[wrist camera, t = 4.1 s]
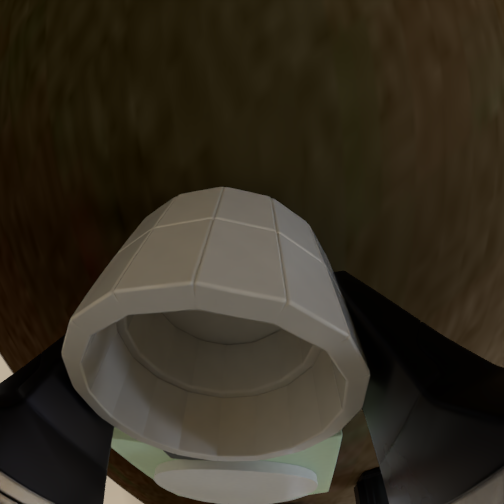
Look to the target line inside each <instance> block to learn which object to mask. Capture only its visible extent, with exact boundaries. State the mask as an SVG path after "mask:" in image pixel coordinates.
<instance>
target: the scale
mask: <svg viewBox="0 0 504 504" xmlns="http://www.w3.org/2000/svg"><path fill="white" fill-rule="evenodd" d="M342 435H343V434H342V429H341V430H340V431H339V432H338V433H336V434H335V435H333V436H331V437H329V438H328V439H326V440H324V441H322V442H320V443H318V444H316V445H314V446H312V447H310V448H308V449H305V450H303V451H300V452H296V453H292V454H288V455H284V456H280V457H275V458H270V459H266V460H259V461H211V460H205V459H198V458H192V457H187V456H181V455H177V454H173V453H170V452H167V451H164V450H161V449H159V448H156V447H153V446H151V445H148V444H145V443H143V442H140V441H138V440H136V439H134V438H132V437H130V436H129V435H127V434H125V433H124V432H122V431H121V430H119V429H117V428H116V427H114V431H113V437H112V443H111V447H112V448H113V449H114V450H115V451H116V452H118V453H119V454H120V455H121V456H123V457H124V458H125V459H126V460H128V461H129V462H130V463H132V464H133V465H134V466H135V467H137V468H138V469H139V470H141V471H142V472H144V473H145V474H146V475H148V476H149V477H151V478H152V479H153V480H155V482H156V483H157V484H158V485H159V486H161V487H162V488H164V489H166V490H168V491H170V492H172V493H175V494H176V495H178V496H184V497H187V498H191V499H195V500H199V501H205V502H211V503H218V504H273V503H280V502H285V501H290V500H294V499H297V498H300V497H303V496H306V495H310V494H317V493H324V492H328V491H329V488H330V484H331V480H332V477H333V473H334V469H335V465H336V461H337V457H338V453H339V449H340V444H341V440H342Z"/></svg>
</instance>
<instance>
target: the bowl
mask: <svg viewBox="0 0 504 504" xmlns="http://www.w3.org/2000/svg"><path fill="white" fill-rule="evenodd" d="M61 353H62V358H63V361H64V364H65V367H66V370H67V372H68V375H69V378H70V380H71V383H72V385H73V387H74V389H75V390H76V391H77V392H78V394H79V395H80V396H81V397H82V398H83V399H84V400H85V402H86V403H87V404H88V405H89V406H90V407H91V408H92V409H93V410H94V411H95V412H96V413H97V414H98V415H99V416H100V417H101V418H102V419H104V420H105V421H107V422H108V423H110V424H111V425H113V426H114V427H116V428H117V429H119V430H121V431H122V432H124V433H125V434H127V435H129V436H130V437H132V438H134V439H136V440H138V441H140V442H143V443H145V444H148V445H151V446H153V447H156V448H159V449H161V450H164V451H167V452H170V453H173V454H177V455H181V456H187V457H192V458H198V459H205V460H211V461H259V460H266V459H270V458H275V457H280V456H284V455H288V454H292V453H296V452H300V451H303V450H305V449H308V448H310V447H312V446H314V445H316V444H318V443H320V442H322V441H324V440H326V439H328V438H329V437H331V436H333V435H335V434H336V433H338V432H339V431H340V430H341V429H342V428H343V427H344V426H345V425H346V424H347V423H348V422H349V421H350V420H351V419H352V418H353V417H354V416H355V415H356V414H357V413H358V412H359V411H360V410H361V409H362V407H363V404H364V400H365V396H366V392H367V388H368V383H369V379H370V370H369V367H368V364H367V361H366V358H365V355H364V352H363V349H362V346H361V344H360V341H359V338H358V335H357V332H356V330H355V327H354V324H353V321H352V319H351V316H350V313H349V311H348V308H347V306H346V303H345V301H344V298H343V295H342V293H341V290H340V288H339V285H338V283H337V280H336V278H335V275H334V273H333V270H332V268H331V265H330V263H329V260H328V258H327V256H326V254H325V252H324V250H323V248H322V247H321V245H320V243H319V241H318V239H317V238H316V236H315V234H314V232H313V230H312V229H311V227H310V225H308V224H307V222H306V221H304V220H303V219H302V218H300V217H299V216H297V215H296V214H295V213H293V212H292V211H290V210H289V209H288V208H286V207H285V206H283V205H282V204H281V203H279V202H278V201H276V200H275V199H271V198H270V197H269V196H264V195H260V194H256V193H251V192H247V191H242V190H238V189H233V188H228V187H225V188H224V187H217V188H211V189H206V190H200V191H195V192H189V193H184V194H179V195H178V196H177V197H174V198H173V199H171V200H170V201H168V202H167V203H165V204H164V205H163V206H161V207H160V208H158V209H157V210H155V211H154V212H153V213H151V214H150V215H149V216H147V217H146V218H145V219H144V220H143V221H142V222H141V223H140V225H139V226H138V227H137V228H136V230H135V231H134V232H133V233H132V235H131V236H130V237H129V238H128V240H127V241H126V242H125V243H124V245H123V246H122V247H121V248H120V250H119V251H118V252H117V254H116V255H115V256H114V258H113V259H112V260H111V261H110V263H109V264H108V265H107V267H106V268H105V269H104V271H103V272H102V273H101V275H100V276H99V278H98V279H97V280H96V282H95V283H94V285H93V286H92V287H91V289H90V290H89V292H88V293H87V294H86V296H85V297H84V299H83V300H82V302H81V303H80V305H79V306H78V308H77V309H76V311H75V312H74V314H73V315H72V317H71V318H70V320H69V324H68V328H67V331H66V335H65V339H64V343H63V346H62V351H61Z"/></svg>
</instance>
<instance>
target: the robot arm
mask: <svg viewBox="0 0 504 504" xmlns="http://www.w3.org/2000/svg"><path fill="white" fill-rule="evenodd" d="M333 273H334V275H335V278H336V280H337V283H338V285H339V288H340V290H341V293H342V295H343V298H344V301H345V303H346V306H347V308H348V311H349V313H350V316H351V319H352V321H353V324H354V327H355V330H356V332H357V335H358V338H359V341H360V344H361V346H362V349H363V352H364V355H365V358H366V361H367V364H368V367H369V370H370V379H369V383H368V388H367V392H366V396H365V400H364V404H363V407H362V408H363V411H364V415H365V418H366V421H367V424H368V428H369V431H370V434H371V438H372V441H373V445H374V448H375V452H376V455H377V459H378V462H379V465H380V469H376V470H372V471H368V472H365V473H363V474H362V476H361V477H360V479H359V481H358V482H357V484H356V485H355V487H354V492H355V499H356V504H504V368H502V367H499V366H497V365H495V364H493V363H491V362H489V361H487V360H485V359H484V358H482V357H480V356H478V355H476V354H475V353H473V352H471V351H469V350H467V349H466V348H464V347H462V346H460V345H458V344H457V343H455V342H453V341H451V340H450V339H448V338H446V337H445V336H443V335H441V334H440V333H438V332H437V331H435V330H434V329H432V328H431V327H429V326H428V325H426V324H425V323H423V322H421V323H420V320H419V319H417V318H416V317H414V316H413V315H411V314H410V313H408V312H407V311H405V310H404V309H402V308H401V307H399V306H398V305H396V304H395V303H393V302H392V301H390V300H389V299H387V298H386V297H384V296H383V295H381V294H380V293H378V292H377V291H375V290H374V289H372V288H371V287H369V286H367V285H366V284H364V283H363V282H361V281H360V280H358V279H357V278H355V277H353V276H352V275H350V274H349V273H347V272H346V271H338V272H333ZM65 335H66V334H65ZM65 335H64V336H63V337H61V338H60V339H59V340H57V341H56V342H55V343H53V344H52V345H51V346H50V347H48V348H47V349H46V350H44V351H43V352H42V354H39V355H38V356H37V357H35V358H34V359H33V360H32V361H30V362H29V363H28V364H26V365H25V366H24V367H22V368H21V369H20V370H18V371H17V372H15V373H14V374H13V375H11V376H10V377H8V378H7V379H6V380H4V381H3V382H1V383H0V504H103V501H104V491H105V483H106V476H107V468H108V461H109V455H110V449H111V443H112V437H113V431H114V426H113V425H111V424H110V423H108V422H107V421H105V420H104V419H102V418H101V417H100V416H99V415H98V414H97V413H96V412H95V411H94V410H93V409H92V408H91V407H90V406H89V405H88V404H87V403H86V402H85V400H84V399H83V398H82V397H81V396H80V395H79V394H78V392H77V391H76V390H75V389H74V387H73V385H72V383H71V380H70V378H69V375H68V372H67V370H66V367H65V364H64V361H63V358H62V353H61V351H62V346H63V343H64V339H65Z"/></svg>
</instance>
